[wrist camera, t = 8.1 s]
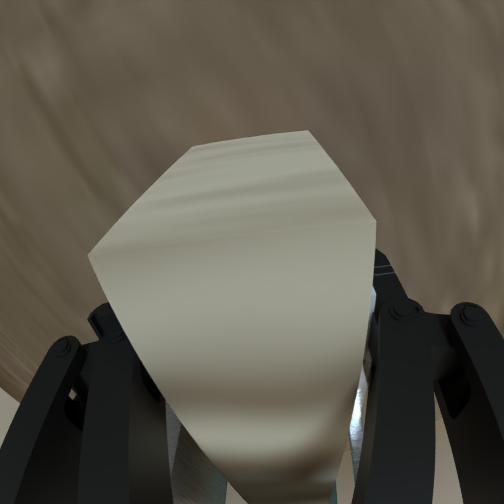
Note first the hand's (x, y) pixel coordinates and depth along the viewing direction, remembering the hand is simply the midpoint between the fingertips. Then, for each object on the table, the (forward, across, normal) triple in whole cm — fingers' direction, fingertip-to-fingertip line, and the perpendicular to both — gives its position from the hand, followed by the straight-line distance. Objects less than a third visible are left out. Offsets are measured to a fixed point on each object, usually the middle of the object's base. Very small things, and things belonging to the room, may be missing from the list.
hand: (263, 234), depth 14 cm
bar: (+1, 0, -7) cm, 7 cm away
